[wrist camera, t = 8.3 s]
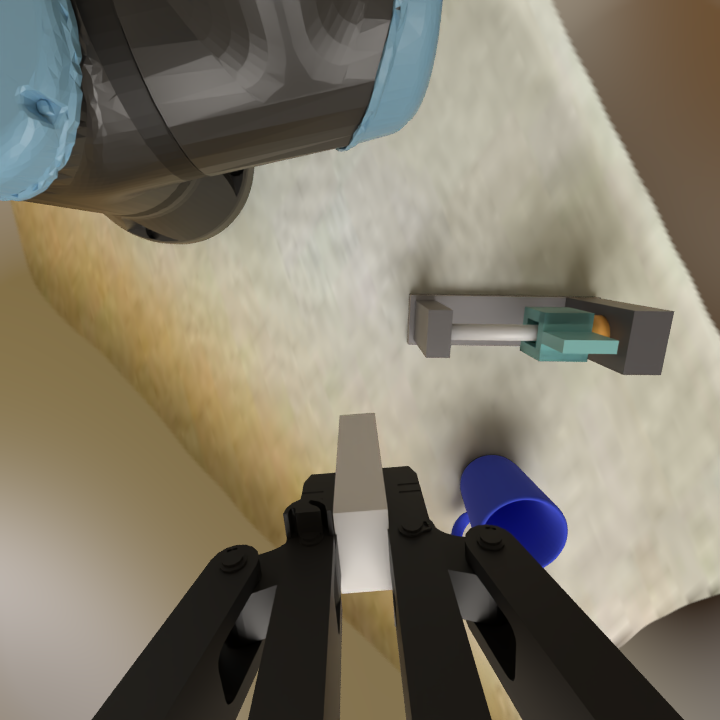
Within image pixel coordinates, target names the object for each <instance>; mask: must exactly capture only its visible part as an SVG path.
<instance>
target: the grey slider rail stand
mask: <svg viewBox="0 0 720 720" xmlns="http://www.w3.org/2000/svg"><path fill="white" fill-rule="evenodd" d="M525 307H570V308H574V309H578V310H582V311H587V312H591V313H595V315H594V321H593V327H592V332H594V333H597V334H600V335H603V336H606V337H609V338H612V339H615V340H618V341H619V344H618V349H617V354H588V359H589V360H591V361H593V362H596V363H598V364H600V365H602V366H605V367H607V368H609V369H611V370H614V371H616V372H618V373H620V374H623V375H661V372H662V367H663V362H664V358H665V353H666V348H667V343H668V338H669V334H670V329H671V324H672V319H673V314H674V311H669V310H663V309H657V308H652V307H646V306H640V305H635V304H629V303H623V302H617V301H612V300H606V299H601V298H599V297H561V296H492V295H424V294H410V297H409V319H408V341H407V343H408V345H418V347H419V348H420V350H421V351H422V352H423V354H424V355H425V357H426V358H450V347H451V345H487V346H520V344H521V341H537V333H538V325H523V318H524V310H525Z"/></svg>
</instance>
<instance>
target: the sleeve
mask: <svg viewBox="0 0 720 720" xmlns="http://www.w3.org/2000/svg"><path fill="white" fill-rule="evenodd" d="M594 315H595V313H591V312H587V311H582V310H578V309H574V308H570V307H525V310H524V318H523V325H538V333H537V341H521V344H520V351H522V352H524V353H526V354H527V355H529V356H531V357H533V358H534V359H536V360H538V361H566V362H587V359H588V354H617V349H618V344H619V341H618V340H615V339H612V338H609V337H606V336H603V335H600V334H597V333H594V332H592V327H593V321H594Z"/></svg>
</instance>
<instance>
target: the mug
mask: <svg viewBox="0 0 720 720" xmlns="http://www.w3.org/2000/svg"><path fill="white" fill-rule="evenodd" d="M460 489H461V494H462V498H463V501H464V504H465V508H466V511H467V512H466V513H463V514H462V515H461V516H460V517H459V518H458V519H457V520H456V522H455V524H454V526H453V528H452V533H451V535H455V536H461V537H462V535H463V532H464V529H465V528H466V526H467V525H468V524H469V522H470V524H471V527H472V528H473V527H475V526H477V525H485V524H488V525H494V526H498V527H501V528H503V529H505V530H507V531H508V532H509V533H511V534H512V535H513V536H514V537H515V538H516V539H517V540H518V541H519V542H520V544H521V545H522V546H523V547H524V548H525V549H526V550H527V551H528V552H529V553H530V554H531V555H532V556H533V558H534V559H535V560H536V561H537V562H538V563H539V564H540V565H541V566H542V567H543V568H544V567H545V566H547V565H549V564H550V563H551V562H553V561H554V560H555V559H556V558H557V557H558V555H559V554H560V553H561V551H562V549H563V548H564V546H565V543H566V540H567V534H568V529H567V522H566V519H565V517H564V515H563V513H562V512H561V510H560V509H559V508H558V507H557V506H556V505H555V504H554V503H553V502H552V501H551V500H550V499H549V498H548V497H547V496H546V495H545V494H544V493H543V492H542V491H541V490H540V489H539V488H538V487H537V486H536V484H535V483H534V482H533V481H532V480H531V479H530V478H529V477H528V476H527V475H526V474H525V473H524V472H523V471H522V470H521V469H520V468H519V467H518V466H517V465H516V464H515V463H513V462H512V461H510V460H509V459H507V458H505V457H502V456H498V455H486V456H482V457H479V458H477V459H475V460H474V461H472V462H471V463H470V464H469V465H468V466H467V467H466V468H465V470H464V472H463V474H462V477H461V481H460Z"/></svg>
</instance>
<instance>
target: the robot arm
mask: <svg viewBox="0 0 720 720" xmlns="http://www.w3.org/2000/svg"><path fill="white" fill-rule="evenodd" d="M442 1H443V0H0V200H3V201H8V200H14V201H27V202H33V203H40V204H46V205H53V206H59V207H65V208H72V209H78V210H84V211H91V212H97V213H103V214H104V215H106V216H107V217H108V218H109V219H110V220H112V221H113V222H114V223H115V224H117V225H118V226H120V227H121V228H123V229H124V230H126V231H128V232H130V233H132V234H134V235H136V236H138V237H141V238H144V239H147V240H150V241H154V242H159V243H167V244H190V243H196V242H200V241H203V240H206V239H209V238H211V237H213V236H215V235H217V234H218V233H220V232H221V231H223V230H224V229H225V228H226V227H228V226H229V225H230V224H231V223H232V222H233V221H234V220H235V218H236V217H237V216H238V214H239V213H240V212H241V210H242V208H243V207H244V205H245V203H246V200H247V198H248V195H249V193H250V189H251V186H252V180H253V173H254V167H255V166H260V165H264V164H269V163H273V162H278V161H282V160H286V159H291V158H295V157H300V156H304V155H309V154H313V153H318V152H322V151H326V150H331V149H336V150H338V151H347V150H349V149H350V148H352V147H354V146H356V145H357V144H358V143H361V142H365V141H369V140H372V139H376V138H380V137H383V136H387V135H390V134H393V133H395V132H397V131H399V130H400V129H402V128H403V127H404V125H406V124H407V122H408V121H410V120H411V119H412V118H413V117H414V115H415V114H416V112H417V111H418V109H419V107H420V105H421V103H422V101H423V98H424V96H425V93H426V90H427V87H428V84H429V81H430V77H431V73H432V69H433V64H434V60H435V55H436V49H437V43H438V36H439V29H440V21H441V12H442ZM283 516H284V523H285V530H286V536H287V541H286V543H285V544H284V545H282V546H280V547H279V548H277V549H274V550H272V551H269V552H266V553H263V554H260V555H258V551H257V550H256V549H255V548H253V547H252V546H248V545H236V546H232V547H229V548H226V549H224V550H223V551H221V552H219V553H218V554H217V555H216V556H215V557H214V558H213V559H212V560H211V561H210V562H209V563H208V565H207V566H206V567H205V569H204V570H203V572H202V573H201V574H200V575H199V577H198V578H197V579H196V581H195V582H194V584H193V585H192V586H191V588H190V589H189V590H188V592H187V593H186V594H185V596H184V597H183V598H182V600H181V601H180V602H179V604H178V605H177V607H176V608H175V609H174V610H173V612H172V613H171V614H170V616H169V617H168V618H167V620H166V621H165V622H164V624H163V625H162V626H161V628H160V629H159V630H158V632H157V633H156V634H155V636H154V637H153V638H152V640H151V641H150V642H149V644H148V645H147V647H146V648H145V649H144V650H143V652H142V653H141V654H140V656H139V657H138V658H137V660H136V661H135V662H134V664H133V665H132V666H131V668H130V669H129V670H128V672H127V673H126V674H125V676H124V677H123V679H122V680H121V681H120V683H119V684H118V685H117V686H116V688H115V689H114V690H113V692H112V693H111V695H110V696H109V697H108V699H107V700H106V701H105V703H104V704H103V705H102V707H101V708H100V709H99V711H98V712H97V713H96V715H95V716H94V717H93V719H92V720H236V718H237V716H238V713H239V711H240V709H241V707H242V705H243V702H244V700H245V698H246V696H247V693H248V691H249V689H250V687H251V684H252V682H253V680H254V678H255V676H256V673H257V671H258V669H259V671H258V676H257V681H256V685H255V690H254V694H253V699H252V704H251V709H250V713H249V718H248V720H340V685H341V684H340V683H341V682H340V681H341V642H342V641H341V640H342V603H341V592H342V593H355V592H368V591H381V590H393V604H394V619H395V627H396V631H397V640H398V649H399V658H400V667H401V676H402V684H403V694H404V703H405V712H406V720H492V719H491V716H490V712H489V709H488V706H487V702H486V699H485V695H484V692H483V688H482V685H481V682H480V678H479V675H478V671H477V668H476V664H475V661H474V657H473V654H472V651H471V647H470V644H469V640H468V637H467V633H466V630H465V627H464V623H463V620H462V619H465V620H466V622H467V624H468V627H469V629H470V630H471V632H472V634H473V636H474V637H475V639H476V641H477V642H478V644H479V646H480V648H481V649H482V651H483V653H484V654H485V656H486V658H487V660H488V661H489V663H490V665H491V666H492V668H493V670H494V672H495V673H496V675H497V677H498V678H499V680H500V682H501V684H502V685H503V687H504V689H505V690H506V692H507V694H508V696H509V697H510V699H511V701H512V703H513V704H514V706H515V708H516V709H517V711H518V713H519V715H520V716H521V718H522V720H684V719H683V718H682V717H681V716H680V715H679V714H678V713H677V712H676V711H675V710H674V709H673V707H672V706H671V705H670V704H669V703H668V702H667V701H666V700H665V699H664V698H663V697H662V696H661V695H660V693H659V692H658V691H657V690H656V689H655V688H654V687H653V686H652V685H651V684H650V683H649V682H648V681H647V679H646V678H645V677H644V676H643V675H642V674H641V673H640V672H639V671H638V670H637V669H636V668H635V666H634V665H633V664H632V663H631V662H630V661H629V660H628V659H627V658H626V657H625V656H624V655H623V654H622V652H620V650H619V649H618V648H617V647H616V646H615V645H614V644H613V643H612V642H611V641H610V640H609V638H608V637H607V636H606V635H605V634H604V633H603V632H602V631H601V630H600V629H599V628H598V627H597V625H596V624H595V623H594V622H593V621H592V620H591V619H590V618H589V617H588V616H587V615H586V614H585V613H584V611H583V610H582V609H581V608H580V607H579V606H578V605H577V604H576V603H575V602H574V601H573V600H572V599H571V597H570V596H569V595H568V594H567V593H566V592H565V591H564V590H563V589H562V588H561V587H560V586H559V584H558V583H557V582H556V581H555V580H554V579H553V578H552V577H551V576H550V575H549V574H548V573H547V572H546V570H545V569H544V568H543V567H542V566H541V565H540V564H539V563H538V562H537V561H536V560H535V559H534V558H533V556H532V555H531V554H530V553H529V552H528V551H527V550H526V549H525V548H524V547H523V546H522V545H521V544H520V542H519V541H518V540H517V539H516V538H515V537H514V536H513V535H512V534H511V533H509V532H508V531H507V530H505V529H503V528H501V527H498V526H494V525H488V524H485V525H477V526H475V527H473V528H470V529H469V531H468V532H467V533H466V535H465V537H461V536H455V535H451V534H447V533H444V532H442V531H440V530H439V529H437V528H436V527H435V525H434V524H433V522H432V521H431V520H430V519H429V516H428V513H427V509H426V506H425V502H424V499H423V495H422V492H421V488H420V484H419V481H418V477H417V474H416V473H415V472H414V471H413V470H412V469H411V468H410V467H409V466H403V467H391V468H382V464H381V456H380V449H379V441H378V434H377V427H376V419H375V413H365V414H352V415H340V419H339V433H338V447H337V461H336V473H327V474H314V475H311V476H310V477H309V478H308V479H307V480H306V481H305V483H304V486H303V491H302V496H301V499H300V500H298V501H296V502H294V503H292V504H291V505H290V506H288V507H287V508H286V510H285V512H284V513H283Z"/></svg>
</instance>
